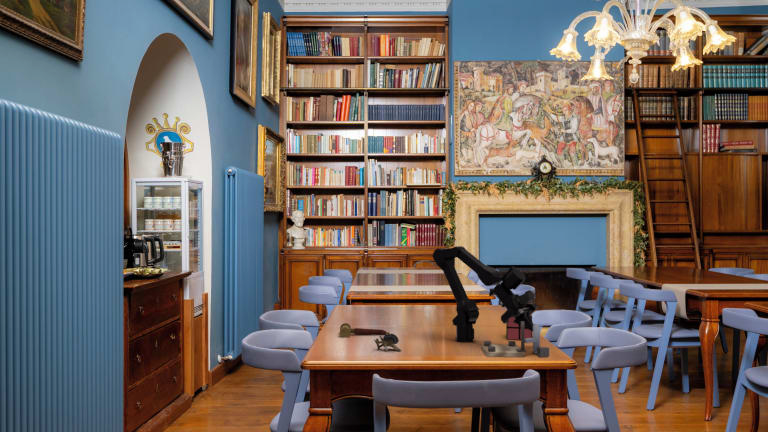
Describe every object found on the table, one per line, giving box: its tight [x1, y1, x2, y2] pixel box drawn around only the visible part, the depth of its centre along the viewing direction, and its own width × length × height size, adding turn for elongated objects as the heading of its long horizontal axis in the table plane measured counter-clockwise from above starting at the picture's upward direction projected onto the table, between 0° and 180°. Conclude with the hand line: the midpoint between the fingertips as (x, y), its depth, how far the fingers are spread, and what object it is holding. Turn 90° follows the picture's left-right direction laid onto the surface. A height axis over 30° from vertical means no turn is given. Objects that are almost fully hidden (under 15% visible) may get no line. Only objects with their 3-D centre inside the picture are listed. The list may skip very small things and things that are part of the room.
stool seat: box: [480, 321, 526, 358], centre depth 199 cm, size 14×13×12 cm
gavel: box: [339, 322, 391, 339], centre depth 231 cm, size 21×5×10 cm
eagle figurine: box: [374, 333, 402, 353], centre depth 202 cm, size 8×7×9 cm
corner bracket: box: [536, 346, 550, 358], centre depth 193 cm, size 2×4×3 cm, turn 104°
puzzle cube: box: [505, 314, 533, 341], centre depth 225 cm, size 10×10×10 cm
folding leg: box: [525, 323, 541, 355], centre depth 196 cm, size 7×2×10 cm, turn 119°
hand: (534, 331), depth 199 cm, fingers closed, pressing on folding leg
